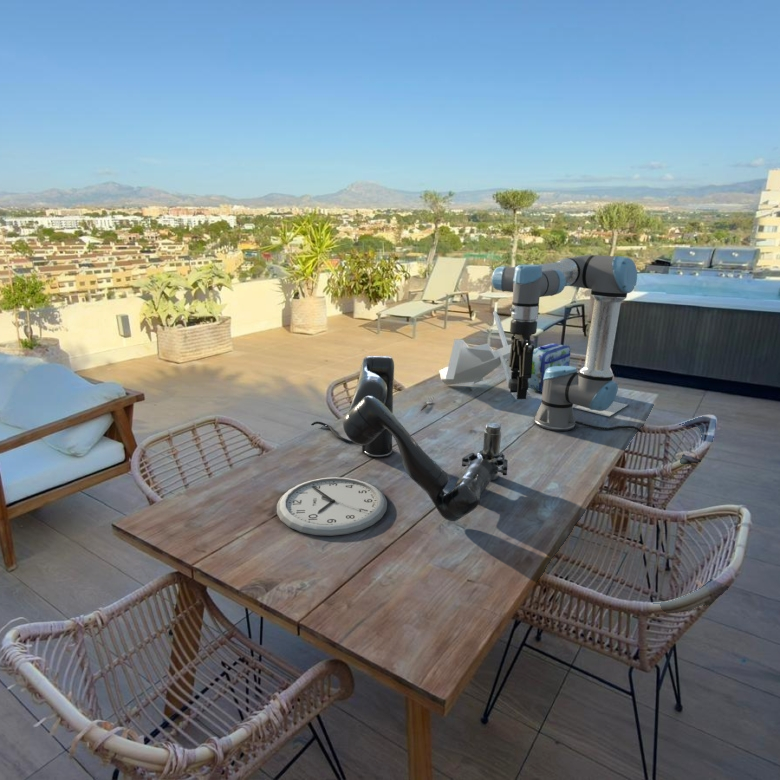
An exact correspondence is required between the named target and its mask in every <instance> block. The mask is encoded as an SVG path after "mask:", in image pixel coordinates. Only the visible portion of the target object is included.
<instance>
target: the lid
mask: <svg viewBox="0 0 780 780" xmlns="http://www.w3.org/2000/svg"><path fill="white" fill-rule="evenodd" d="M507 386H508V385H507ZM517 386H518V379H517V378H514V379H510V380H509V386H508V390H509V389H511V390H514V391H517ZM528 387H529V381H528V384H527V390H529V388H528Z"/></svg>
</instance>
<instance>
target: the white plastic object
mask: <svg viewBox="0 0 780 780" xmlns="http://www.w3.org/2000/svg"><path fill="white" fill-rule="evenodd" d="M492 315H493V319H494V321H495V324H496V325H495V326H496V328H497V332H498V335H499V338H500V342H501V345H502V347H500V348H498V349H496V350H495V349H493V348H492V347H491V346H490V344H489V343H488V342H487V343H483V344H479V345H473V346H469V345H468V343H466V342H465V340H464V339H463V338H460V339H458V338H454V340H453V344H452V349H451V353H450V357H449V362H448V366H446V367H444V368H442V369H440V370H439V371H438V372H439V376H440V381H442V383H443V384H444V385H445V386H449V385H458V384H467V383H468V384H469V383H473V384H477V383H480V382H482V381H484V378H485V377H486V376H487V375H489V374H490V373H492V372H494V371H495V370H496V369H497V368H499V367H500V366H502V370H503V373H504V376H505V380H506V383H507V386H509V380H510V379H511V370H510V369H509V368H510V367H509V364H508V361H510V352H511V343H510V344H508V341H507V337H506V334H505V331H504V328H503V325H502V321H501V318H500V315H499V314H498V312H497V311H496V310H495V311H492ZM518 372H520V371H518ZM508 390H509V391H510V389H509V388H508ZM510 394H511V395H512V397H513V398H514V399H515V400H517V399H516V398H517V392H514V393H511V392H510ZM528 396H531V395H530V389H528V390H527V395H526V397H528Z"/></svg>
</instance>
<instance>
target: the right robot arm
mask: <svg viewBox="0 0 780 780" xmlns="http://www.w3.org/2000/svg"><path fill="white" fill-rule="evenodd" d="M637 280H638V269H637V266H636V262H635V261H634V260H633V259H632V258H631V257H626V256H620V255H598V254H597V255H595V254H586V255H585V254H584V255H578V256H571V257H566V258H562V259H559V260H558V261H557V262H547V263H539V264H519V265H517V266H511V267H510V266H506V265H505V266H498V267H496V268H495V269H494V270H493V272H492V275H491V285H492V287H493V288H494V289H495V290H496V291H500V292H501V291H502V292H507V293H509V292H510V293H512V302H511V304H512V305H511V308H510V309H509V312H511V315H510V317H511V320H510V325H509V332H510V333H511V334H513V335H511V336H510V344H511V352H510V360H509V363H508V368H510V375H511V379H514V378H517V379H518V386H517V391H514V390H511V389H510V390H509V393H510V394H511V393H514V392H516V395H517V398H516V399H515V400H527V396H526V395H527V384H528V379H529V378H531V375H532V361H533V351H534V349H535V345H534V344H532V341H531V336H534V335H535V334H537V330H538V321H537V320H538V319H539V311H540V298H544V297H553V296H555V295H558V294H561V293H562V292H563V291H564V289H565V287H576V288H580V289H588V290H591V291H590V296H591V298H593V308H592V314H591V321H590V327H589V334H588V340H587V345H586V355H585V358H584V366H583V367H582V368H580V369H579V370H578V368H577V367H576V366H571V365H569V366H554V367H550V368H547V369H546V371H545V374H544V378H543V380H544V381H543V391H542V392H541V393H542V394H541V402H540V405H539V407H538V410H537V411H536V413H535V417H534V424H535V425H536V426H537V427H539V428H542V429H544V430H549V431H556V432H567V431H572V430H574V429H575V428H576V425H580V426H584V427H587V428H592V429H596V430H604V431H612V430H617V429H632V430H633V429H634V430H636V431H637V432H639V433H640V434H641V433H642V434H643V430H642V429H640V428H639V427H637V426H634V425H615V426H611V427H605V426H597V425H594V424H588V423H585V422H581V421H579V420H578V421H577V420H576V418H575V417H576V416H575V413H574V407H573V405H575V406H578V405H579V406H582V407H586V408H589V409H591V410H598V411H604V410H606V409H607V408H609V407H610V405H611V404H612V403H613V401H614V402H615V399H616V397H617V394H618V391H619V386H618V383H617V382H616V381H615V380H613V378H614V373H613V372H612V371H611V364H612V358H613V353H614V352H613V351H614V350H613V349H614V345H615V340H616V333H617V328H618V322H619V316H620V310H621V305H622V302H623V301H625V300H626V299H627V297H628V294H631V293H632V292H633V291H634V290H635V287H636V286H637ZM518 371H520V372H518Z"/></svg>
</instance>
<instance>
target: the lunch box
mask: <svg viewBox="0 0 780 780" xmlns="http://www.w3.org/2000/svg"><path fill="white" fill-rule="evenodd" d="M570 361H571V347H570V345H565V344H558V343H549V344H545V345H542V346H541V345H540V346H538V347H536V348H534V351H533V361H532V375H531V378H529V379H528V381H529V387H528V390H530V389H531V390H534V391H535V390H536V391H539V392H541V393H542V391H543V381H544V380H543V378H544V374H545V371H546V369H547V368H550V367H554V366H570Z"/></svg>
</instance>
